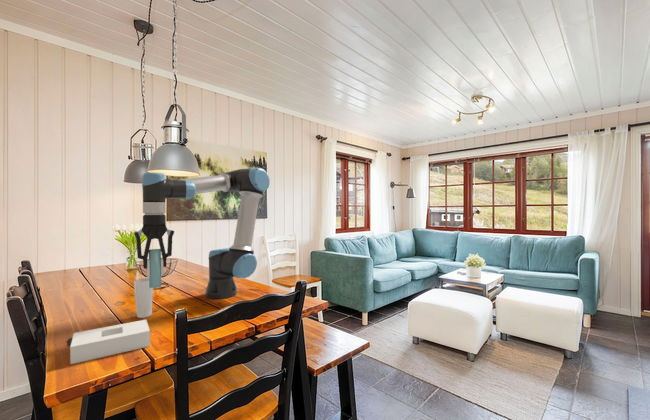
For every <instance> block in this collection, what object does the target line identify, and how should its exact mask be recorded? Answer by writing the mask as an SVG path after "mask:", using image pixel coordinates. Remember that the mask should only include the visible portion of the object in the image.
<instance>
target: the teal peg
mask: <svg viewBox="0 0 650 420" xmlns="http://www.w3.org/2000/svg"><path fill="white" fill-rule="evenodd" d="M161 258H162V254H161V249H160V248H151V249H150V248H149V253H148V259H149V260H150V278H149V288H153V289H156V288H161V287H162V276H161Z"/></svg>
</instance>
